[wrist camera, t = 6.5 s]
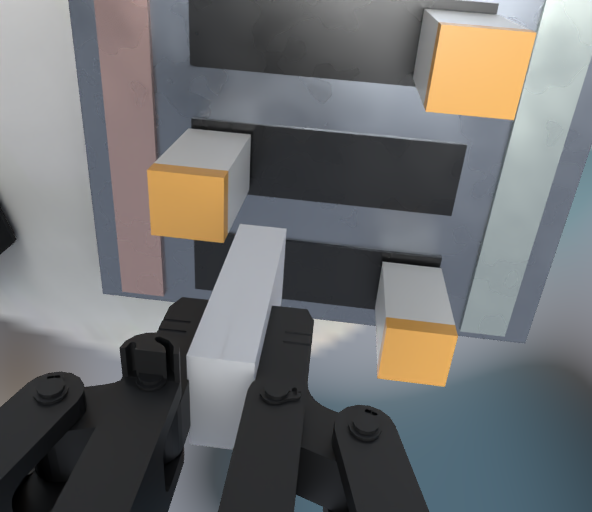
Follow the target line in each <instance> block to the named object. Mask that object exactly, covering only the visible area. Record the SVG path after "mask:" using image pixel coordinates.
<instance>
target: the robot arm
mask: <svg viewBox="0 0 592 512" xmlns="http://www.w3.org/2000/svg"><path fill="white" fill-rule="evenodd" d="M285 244H286V229H285V228H275V227H265V226H256V225H246V224H240V225H239V227H238V230H237V232H236V235H235V237H234V240H233V242H232V245H231V247H230V250H229V252H228V254H227V257H226V259H225V262H224V264H223V267H222V269H221V272H220V274H219V277H218V279H217V282H216V284H215V286H214V289H213V291H212V294H211V296H210V299H209V300H206V299H197V298H187V297H182V298H180V299H179V300H178V301H176V302H175V303H174V304H172V305H171V306H170V307H169V309H168V311H167V313H166V315H165V317H164V320H163V321H162V323H161V325H160V327H159V330H158V331H157V333H144V334H140V335H136V336H134V337H132V338H130V339H128V340H126V341H125V342H124V343H123V345H122V346H121V347H120V356H121V364H122V374H123V377H122V379H121V380H120V381H117V382H115V383H110V384H105V385H98V386H90V387H84V384H83V382H82V381H81V379H80V378H79V377H77V376H76V375H74V374H72V373H66V372H54V373H48V374H45V375H42V376H39V377H37V378H35V379H34V380H32V381H30V382H29V383H27V384H26V385H25V386H24V387H23V388H22V389H20V390H19V391H18V392H17V393H16V394H15V395H14V396H13V397H11V398H10V399H9V400H8V401H7V402H6V403H5V404H3V405H2V406H1V407H0V512H168V510H169V506H170V503H171V501H172V497H173V494H174V491H175V488H176V485H177V482H178V479H179V476H180V473H181V470H182V467H183V463H184V444H185V441H186V437H187V435H188V432H189V443H190V444H192V445H201V446H209V447H217V448H226V449H233V452H232V457H231V460H230V465H229V469H228V473H227V477H226V481H225V486H224V489H223V494H222V498H221V502H220V506H219V510H218V512H294V506H295V497H296V495H298V496H301V497H303V498H305V499H307V500H310V501H312V502H314V503H316V504H318V505H321V506H323V512H429V510H428V507H427V505H426V502H425V500H424V497H423V495H422V492H421V490H420V487H419V485H418V482H417V480H416V477H415V475H414V472H413V469H412V467H411V464H410V462H409V459H408V457H407V455H406V452H405V449H404V447H403V444H402V442H401V439H400V437H399V434H398V431H397V429H396V426H395V425H394V423H393V422H392V420H391V419H390V417H389V416H387V415H386V414H385V413H384V412H382V411H381V410H378V409H376V408H374V407H371V406H365V405H355V406H351V407H347V408H345V409H344V410H342V411H341V412H339V413H338V412H335V411H333V410H330V409H328V408H326V407H324V406H322V405H320V404H319V403H318V402H317V401H315V400H314V399H313V397H312V396H311V394H310V392H309V390H308V373H309V363H310V354H311V344H312V334H313V325H314V320H313V319H312V317H311V315H310V313H309V311H308V309H300V308H291V307H282V306H281V301H282V288H283V274H284V259H285Z"/></svg>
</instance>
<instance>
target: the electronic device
mask: <svg viewBox="0 0 592 512" xmlns="http://www.w3.org/2000/svg"><path fill="white" fill-rule="evenodd" d="M16 240H17V239H16V237H15V235H14V233H13V231H12V229H11V227H10V225H9V223H8V221H7V219H6V217H5V215H4V213H3V211H2V209H1V207H0V254H1V253H2V252H4V251H5V250H6V249H7V248H8V247H10V246H11V245H12V244H13V243H14V242H15V241H16Z"/></svg>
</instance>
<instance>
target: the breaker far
mask: <svg viewBox="0 0 592 512" xmlns="http://www.w3.org/2000/svg"><path fill="white" fill-rule="evenodd" d="M375 316H376V344H377V345H376V347H377V375H378V376H377V378H379V379H388V380H395V381H403V382H411V383H420V384H427V385H435V386H444V387H445V384H446V380H447V376H448V373H449V369H450V365H451V361H452V357H453V353H454V349H455V346H456V342H457V338H458V334H457V330H456V326H455V322H454V318H453V314H452V310H451V306H450V302H449V298H448V294H447V290H446V285H445V281H444V277H443V273H442V269H441V268H435V267H426V266H417V265H408V264H399V263H390V262H382V268H381V275H380V281H379V287H378V293H377V299H376V305H375Z"/></svg>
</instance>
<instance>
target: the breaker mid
mask: <svg viewBox="0 0 592 512" xmlns="http://www.w3.org/2000/svg"><path fill="white" fill-rule="evenodd" d="M250 148H251V134H241V133H231V132H221V131H211V130H201V129H190V128H188V129H187V130H186V131H185V132H184V133H183V134H182V135H181V136H180V137H179V138H178V139H177V140H176V141H175V142H174V143H173V144H172V145H171V146H170V147H169V148H168V149H167V150H166V151H165V152H164V153H163V154H162V155H161V156H160V157H159V158H158V159H157V160H156V161H155V162H154V163H153V164H152V165H151V166H150V167H149V168H148V169H147V178H148V193H149V209H150V224H151V235H156V236H165V237H174V238H183V239H192V240H201V241H210V242H219V243H224V241H225V239H226V237H227V235H228V233H229V231H230V229H231V227H232V225H233V222H234V220H235V218H236V216H237V214H238V212H239V210H240V208H241V206H242V204H243V202H244V200H245V198H246V195H247V193H248V191H249V182H250Z"/></svg>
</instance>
